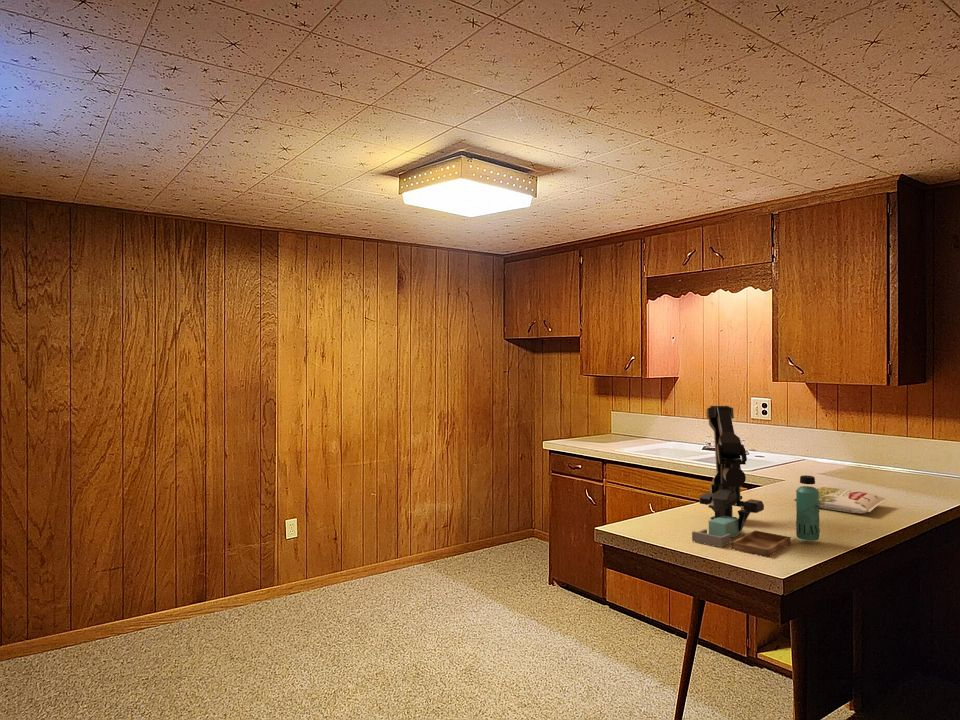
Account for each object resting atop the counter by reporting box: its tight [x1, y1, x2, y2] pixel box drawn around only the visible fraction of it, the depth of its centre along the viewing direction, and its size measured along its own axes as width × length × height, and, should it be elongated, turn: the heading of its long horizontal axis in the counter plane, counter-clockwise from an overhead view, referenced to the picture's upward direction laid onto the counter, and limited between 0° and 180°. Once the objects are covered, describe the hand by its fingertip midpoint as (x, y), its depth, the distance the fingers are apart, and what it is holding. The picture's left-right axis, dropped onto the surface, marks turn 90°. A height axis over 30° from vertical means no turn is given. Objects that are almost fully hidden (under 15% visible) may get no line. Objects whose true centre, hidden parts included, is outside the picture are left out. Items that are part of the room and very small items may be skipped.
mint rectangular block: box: [708, 515, 741, 538], centre depth 204 cm, size 10×6×5 cm, turn 131°
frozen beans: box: [793, 486, 887, 514], centre depth 235 cm, size 21×6×25 cm
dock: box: [691, 528, 732, 548], centre depth 197 cm, size 7×9×3 cm
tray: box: [730, 530, 792, 558], centre depth 192 cm, size 17×11×2 cm, turn 134°
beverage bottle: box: [795, 475, 821, 542], centre depth 195 cm, size 6×7×20 cm
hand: (731, 529), depth 206 cm, fingers closed on mint rectangular block, 6 cm apart
